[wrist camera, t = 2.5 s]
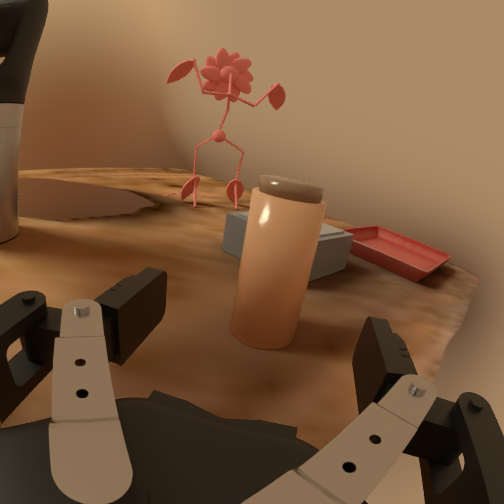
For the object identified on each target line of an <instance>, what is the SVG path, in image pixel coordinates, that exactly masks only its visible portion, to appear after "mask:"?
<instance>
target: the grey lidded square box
mask: <svg viewBox="0 0 504 504" xmlns="http://www.w3.org/2000/svg"><path fill="white" fill-rule="evenodd" d="M248 214H249V212H229V213H227V217H226V224H225V231H224V238H223V245H222V250H224V251H225V252H227V253H229V254H231V255H233V256H235V257H237V258H238V259H240V260H241V256H242V250H243V244H244V238H245V232H246V226H247V220H248ZM353 237H354V234H351V233H349V232H346V231H344V230H341V229H338V228H336V227H333V226H330V225H327V224H325V223H322V227H321V232H320V236H319V240H318V245H317V249H316V253H315V257H314V261H313V265H312V269H311V273H310V277H309V281H308V282H310V281H312V280H315V279H318V278H321V277H324V276H327V275H329V274H332V273H335V272H338V271H341V270H343V269H345V267H346V263H347V260H348V256H349V252H350V248H351V245H352V241H353Z"/></svg>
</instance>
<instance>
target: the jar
mask: <svg viewBox="0 0 504 504" xmlns="http://www.w3.org/2000/svg"><path fill="white" fill-rule="evenodd" d="M323 191H324V188H323V187H322V186H319V185H316V184H313V183H310V182H306V181H302V180H297V179H292V178H286V177H281V176H273V175H261V179H260V185H259V187H256V188H253V191H252V197H251V203H250V209H249V214H248V220H247V226H246V232H245V238H244V244H243V250H242V256H241V263H240V269H239V275H238V281H237V287H236V293H235V299H234V305H233V312H232V318H231V324H230V329H231V332H232V334H233V335H234V336H235V337H236V338H237V339H238V340H239V341H241V342H242V343H244V344H246V345H249V346H251V347H255V348H259V349H266V350H273V349H280V348H283V347H285V346H287V345H289V344H290V343H291V342H292V340H293V337H294V333H295V330H296V326H297V323H298V319H299V315H300V312H301V308H302V304H303V300H304V297H305V293H306V289H307V285H308V281H309V277H310V273H311V269H312V265H313V261H314V257H315V253H316V249H317V245H318V240H319V236H320V232H321V227H322V223H323V219H324V214H325V209H326V205H327V203H326V202H325V201H323V200H322V196H323Z"/></svg>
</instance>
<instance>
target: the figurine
mask: <svg viewBox="0 0 504 504" xmlns="http://www.w3.org/2000/svg"><path fill="white" fill-rule="evenodd" d="M206 65H207V67H203V68H201V69H200V73H201V74H202V76H203V77H204V78H206V79H207V81H205V82H204V83H203V86H202V83H201V79H200V76H199V72H198V69H197V65H196V59H192V60H186V61H184V62H181V63H179V64H178V65H177V66H175V67H174V68H173V70H172V71H171V72H170V74H169V76H168V78H167V82H166V83H167V84H168V83H171V82H175V81H177V80H180V79H181V78H183V77H185V76H186V75H187V74H188V73H189V72H190V71H191V70H192V68H193V67H194V68H195V72H196V75H197V79H198V82H199V86H200V89H201V92H202V94H211V95H214V96H215V98H216V99H217V100H222V99H224V98H226V97H228V102H227V109H226V112H225V114H224V117H223V120H222V122H221V125H220V128H219V130H217V131H215V132H214V133H213V137H211V138H209V139H208V140H206V141H204V142H202V143H201V144H199V145H197V146H196V150H195V161H194V173H193V177H192V178H191V179H190V180H189V181H188V182H187V183H186V184H185V185H184V186H183V188H182V190H181V193H179V194H181V200H183V199H185V198H186V197H187V196H189V195H190V194H191V193H192V192H193V191H194V193H192V194H194V207H196V188H197V186H198V184H199V181H200V178H199V176H195V169H196V158H197V147H198V146H200V145H202V144H204V143H206V142H207V141H209V140H211V139H214V141H216V142H222V141H224V140H225V141H226V142H228V143H230V144H231V145H233V146H234V147H236V148H237V149H239V150H240V151H242V156H241V159H240V163H239V167H238V171H237V175H236V179H234V180H232V181H230V182H229V184H228V186H227V189H226V192H227V196H228V197H229V199H230V200H231V201H233V202H234V203H235V209H238V201H237V199H238V198H240V197H241V196H242V194H243V191H244V189H243V184H242V182H241V181H240V180H238V179H237V177H238V174H239V170H240V166H241V162H242V158H243V154H244V152H243V150H242V149H240V148H238V147H237V146H236V145H234V144H232V143H231V142H229V141H228V140H226V139H225V133H224V132H223V131H222V130H221V127H222V125H223V123H224V120H225V118H226V115H227V113H228V111H229V104H230V101H232V102H235V101H237V99H238V100H240V101H242V102H244V103H246V104H248V105H250V106H252V107H255V106H257V105H258V104H259V103H260V102H261V101H262V100H263V99H264V98H265V97H266V96H267V95H268V97H269V101H270V103H271V104H272V106H273V107H274V109H276V110H277V109H279V108H280V107H281V106H282V104H283V103H284V101H285V91H284V89H283V87H282V86H280V84H279V83H276V84H275V85H273V86H272V87H271V88H270V90H269V91H268V92H267V93H266V94H265V95H264V96H263V97H262V98H261V99H260V100H258V101H257V102H256V103H255V104H251V103H250V102H248V101H246V100H244V99H241V98H239V94H240V91H241V92H243V93H246V94H249V93H250V92H251V86H250V83H249V82H251V81H253V76H252V75H251V74H250V73H249V72H248V71H247V69H248V68H249V67H250V66H251V61H250V60H249V59H246V58H239V54H238V53H237V52H234V53H230V54H228V53H227V51H226V50H225V49H224V48H221V49H219V50H218V52H217V54H216V58H213V57H211V56H208V57H207V58H206ZM203 89H204V90H207V91H214V92H205V91H204V90H203ZM254 105H255V106H254ZM173 194H176V193H171V194H167V195H173ZM199 195H206V194H199ZM163 196H165V195H163ZM210 196H215V195H210Z"/></svg>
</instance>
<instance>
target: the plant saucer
mask: <svg viewBox="0 0 504 504" xmlns="http://www.w3.org/2000/svg"><path fill="white" fill-rule="evenodd" d="M341 230H344V231H346V232H349V233H351V234H354V237H353V241H352V245H351V248H350V252H349V253H351V254H353V255H355V256H357V257H360V258H362V259H364V260H366V261H369V262H371V263H373V264H375V265H378V266H380V267H382V268H384V269H386V270H389V271H391V272H393V273H395V274H397V275H399V276H402V277H404V278H406V279H408V280H410V281H413V282H418V281H419V280H421V279H422V278H424V277H426V276H427V275H429V274H430V273H432V272H433V271H435V270H436V269H438V268H439V267H441V266H442V265H443V264H445V263H446V262H447V261H448V260H449V259H450V258H451V255H448V254H446V253H444V252H442V251H439V250H437V249H434V248H432V247H430V246H427V245H425V244H422V243H420V242H418V241H415V240H413V239H410V238H408V237H405V236H403V235H400V234H398V233H395V232H393V231H390V230H387V229H385V228H382V227H379V226H366V227H356V228H347V229H341Z"/></svg>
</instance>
